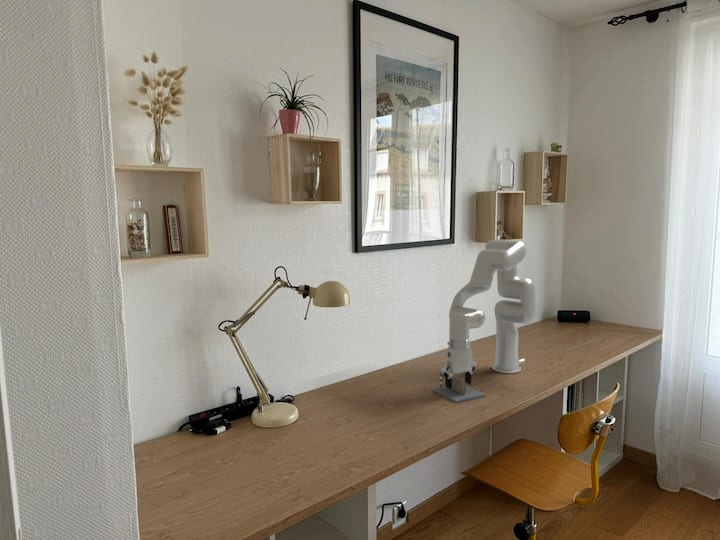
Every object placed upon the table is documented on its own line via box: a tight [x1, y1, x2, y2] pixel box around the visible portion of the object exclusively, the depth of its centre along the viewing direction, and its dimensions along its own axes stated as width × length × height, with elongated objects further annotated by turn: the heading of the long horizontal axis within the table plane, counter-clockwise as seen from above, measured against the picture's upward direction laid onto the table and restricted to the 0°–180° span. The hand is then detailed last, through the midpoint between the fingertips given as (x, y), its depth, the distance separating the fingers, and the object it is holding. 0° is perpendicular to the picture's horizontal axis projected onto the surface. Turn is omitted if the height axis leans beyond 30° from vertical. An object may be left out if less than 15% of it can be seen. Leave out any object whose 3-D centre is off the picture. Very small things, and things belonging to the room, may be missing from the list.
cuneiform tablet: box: [439, 372, 467, 395], centre depth 200 cm, size 6×4×12 cm
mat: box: [431, 384, 486, 404], centre depth 199 cm, size 14×15×1 cm
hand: (458, 385), depth 199 cm, fingers open, 9 cm apart
